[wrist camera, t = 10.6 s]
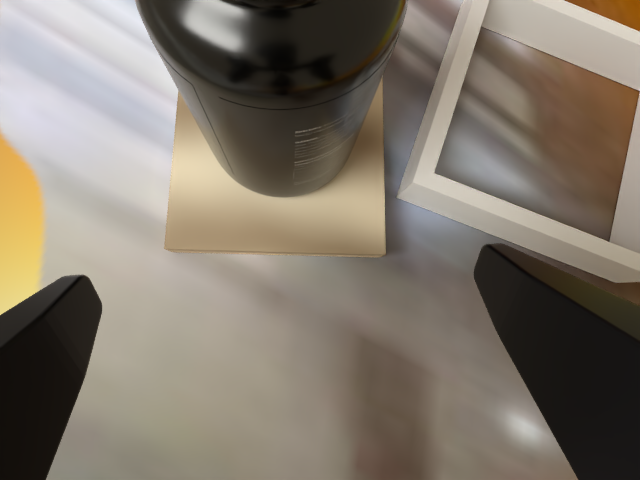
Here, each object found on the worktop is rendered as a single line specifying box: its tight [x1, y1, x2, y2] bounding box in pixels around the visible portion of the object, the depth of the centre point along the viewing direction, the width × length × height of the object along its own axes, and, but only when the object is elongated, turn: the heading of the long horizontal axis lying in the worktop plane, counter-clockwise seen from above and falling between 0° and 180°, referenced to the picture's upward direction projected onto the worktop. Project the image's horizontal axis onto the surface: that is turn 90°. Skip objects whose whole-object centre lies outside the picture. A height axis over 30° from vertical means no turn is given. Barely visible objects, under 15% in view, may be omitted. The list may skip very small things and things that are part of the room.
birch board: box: [164, 79, 386, 257], centre depth 17 cm, size 12×10×1 cm
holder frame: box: [396, 0, 640, 283], centre depth 18 cm, size 13×13×2 cm
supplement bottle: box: [135, 0, 408, 198], centre depth 11 cm, size 7×7×12 cm
